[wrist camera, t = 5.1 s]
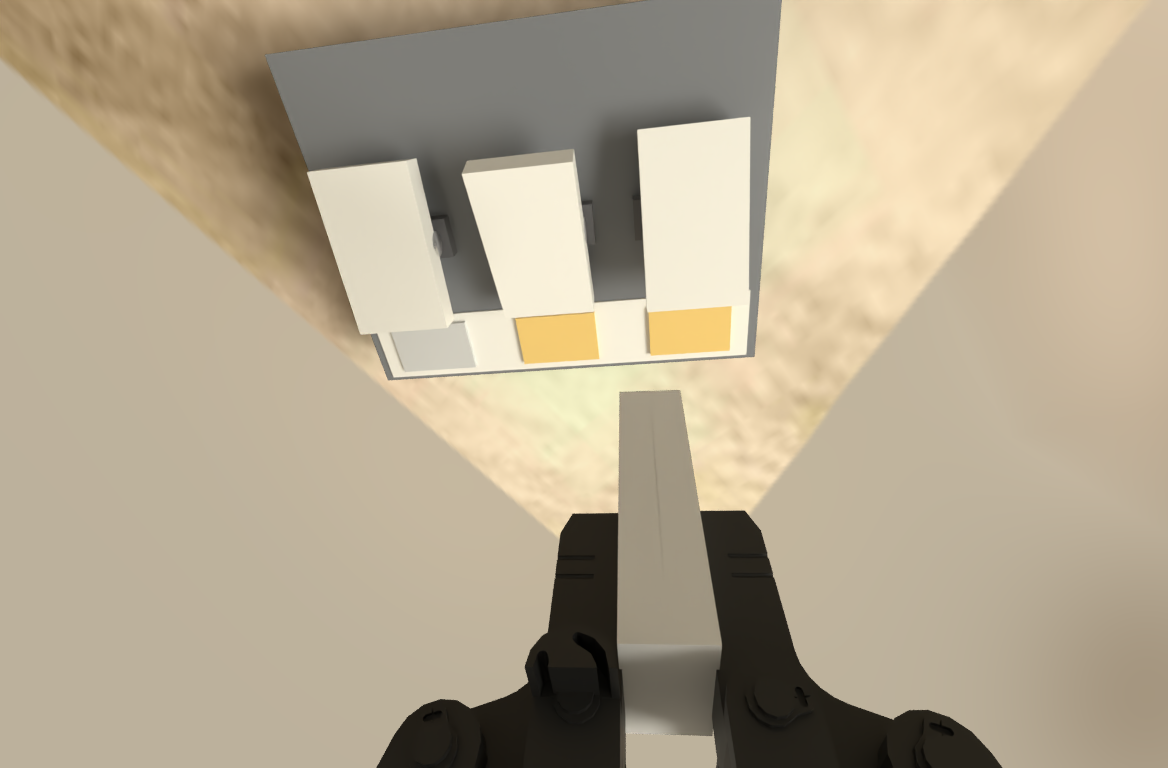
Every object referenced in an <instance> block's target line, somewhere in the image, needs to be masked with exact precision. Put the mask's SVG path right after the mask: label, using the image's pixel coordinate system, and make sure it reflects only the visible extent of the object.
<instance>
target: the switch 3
mask: <svg viewBox="0 0 1168 768" xmlns="http://www.w3.org/2000/svg"><path fill="white" fill-rule="evenodd" d="M637 142H638V160H639V178H640V196H641V218H642V235H643V250H644V268H645V286H646V304H647V312H660V311H673V310H686V309H700V308H713V307H726V306H740V305H749V221H750V117H744V118H735V119H726V120H717V121H709V122H700V123H691V124H682V125H674V126H665V127H656V128H648V129H639V130H637Z"/></svg>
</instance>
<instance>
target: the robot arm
mask: <svg viewBox="0 0 1168 768" xmlns="http://www.w3.org/2000/svg"><path fill="white" fill-rule="evenodd" d="M555 575H556V578H555V582H554V589H553V597H552V604H551V613H550V621H549V628H548V633H546V634H544V635H543V636H542V637H541V638H540V639H539V640H538V641H537V643H536V644H535V645H534V646H533V647H532V649H531V650H530V653H529V656H528V659H527V662H526V664H525V670H526V673H527V677H528V683H527V684H526V685H524V686H523V687H522V688H521V689H519V690H518V691H517V692H514V693H512V694H510V695H508V696H506V697H504V698H501V699H498V700H495V701H492V702H489V703H486V704H483V705H480V706H477V707H474V708H471V709H470V708H469V707H467V706H465V705H464V704H462V703H461V702H459V701H457V700H445V699H440V700H437V701H434V702H431V703H428V704H425V705H423V706H421V707H420V708H419V709H417V710H416V711H415V712H413V713H412V714H411V715H409V716H408V717H407V719H406V720H405V721H404V722H403V724H402V725H401V726H400V728H399V729H398V730H397V732H396V733H395V735H394V737H393V738H392V740H391V742H390V744H389V746H388V748H387V749H386V751H385V753H384V755H383V757H382V758H381V760H380V762H379V764H378V766H377V768H626V749H625V748H626V738H625V737H626V733H633V734H634V733H635V734H665V735H669V734H670V735H700V736H712V734H713V730H714V738H715V745H716V753H717V766H716V768H1002V767H1001V765H1000V764H999V763H998V761H997V760H996V759H995V757H994V756H993V754H992V753H991V752H990V751H989V750H988V749H987V748H986V747H985V745H983V743H982V742H981V741H980V740H979V739H978V738H977V737H976V736H975V735H974V734H973V733H972V732H971V731H970V730H968V729H967V728H965V727H964V726H962V725H960V724H959V723H957V722H956V721H954V720H953V719H951V718H950V717H947V716H944V715H941V714H938V713H935V712H932V711H929V710H909V711H907V712H905V713H903V714H901V715H900V716H898V717H896V718H894V720H892V719H889V718H887V717H884V716H881V715H878V714H875V713H872V712H869V711H867V710H864V709H861V708H858V707H855V706H852V705H850V704H847V703H845V702H843V701H841V700H839V699H837V698H834V697H833V696H831V695H830V694H828V693H827V692H826V691H824V690H823V689H821V688H820V687H819V686H818V685H817V684H816V683H815V682H814V681H813V680H812V679H811V678H810V677H809V676H808V674H807V673H806V672H805V670H804V668H803V667H802V666H801V664H800V662H799V660H798V657H797V655H796V652H795V650H794V646H793V643H792V639H791V635H790V632H789V629H788V625H787V621H786V618H785V614H784V611H783V608H782V604H781V601H780V597H779V593H778V590H777V586H776V582H775V579H774V578H773V572H772V568H771V565H770V561H769V559H768V557H767V551H766V547H765V544H764V540H763V537H762V533H761V530H760V529H759V528H758V527H757V525H756V524H755V523H754V521H753V520H752V519H751V518H750V517H749V515H748V514H747V513H746V512H745V511H700V508H699V502H698V496H697V490H696V483H695V477H694V471H693V465H692V459H691V453H690V447H689V441H688V435H687V429H686V423H685V417H684V411H683V404H682V398H681V392H680V390H666V391H636V392H620V406H619V502H618V513H596V514H572V516H571V518H570V519H569V521H568V522H567V524H566V525H565V527H564V529H563V530H562V532H561V534H560V542H559V551H558V560H557V566H556V574H555Z"/></svg>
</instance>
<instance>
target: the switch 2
mask: <svg viewBox="0 0 1168 768" xmlns="http://www.w3.org/2000/svg"><path fill="white" fill-rule="evenodd" d="M462 177H463V180H464V184H465V187H466V190H467V193H468V197H469V200H470V203H471V206H472V210H473V213H474V216H475V220H476V223H477V226H478V229H479V233H480V236H481V239H482V243H483V246H484V249H485V252H486V256H487V259H488V262H489V266H490V269H491V272H492V275H493V279H494V282H495V285H496V289H497V292H498V295H499V298H500V302H501V305H502V308H503V311H504V315H505V318H518V317H531V316H545V315H558V314H571V313H584V312H594V291H593V284H592V277H591V270H590V262H589V255H588V248H587V231H586V222H585V217H583V211H582V204H581V197H580V189H579V182H578V175H577V168H576V160H575V153H574V149H568V150H559V151H550V152H541V153H532V154H523V155H514V156H505V157H496V158H487V159H478V160H469V161H467V162H466V164H465V167H464V169H463V172H462Z"/></svg>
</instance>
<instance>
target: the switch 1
mask: <svg viewBox="0 0 1168 768" xmlns="http://www.w3.org/2000/svg"><path fill="white" fill-rule="evenodd" d="M307 174H308V177H309V180H310V183H311V186H312V189H313V192H314V196H315V199H316V202H317V205H318V208H319V211H320V214H321V217H322V220H323V223H324V226H325V229H326V232H327V235H328V238H329V241H330V244H331V247H332V250H333V253H334V256H335V259H336V262H337V265H338V268H339V271H340V274H341V277H342V281H343V284H344V287H345V290H346V293H347V296H348V299H349V302H350V305H351V308H352V311H353V314H354V317H355V320H356V323H357V326H358V329H359V332H360V335H362V334H376V333H389V332H402V331H415V330H429V329H442V328H448V327H449V325H450V324H451V323H452V322H453V320H454V316H453V312H452V307H451V303H450V299H449V295H448V290H447V286H446V282H445V278H444V274H443V269H442V265H441V261H440V256H441V254H442V242H441V238H440V236H439V234H438V232H437V231H433V227H432V223H431V218H430V214H429V210H428V206H427V201H426V197H425V193H424V189H423V184H422V180H421V176H420V172H419V167H418V163H417V159H416V158H414V159H405V160H396V161H388V162H379V163H370V164H361V165H353V166H344V167H335V168H326V169H319V170H314V171H310V172H307Z"/></svg>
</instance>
